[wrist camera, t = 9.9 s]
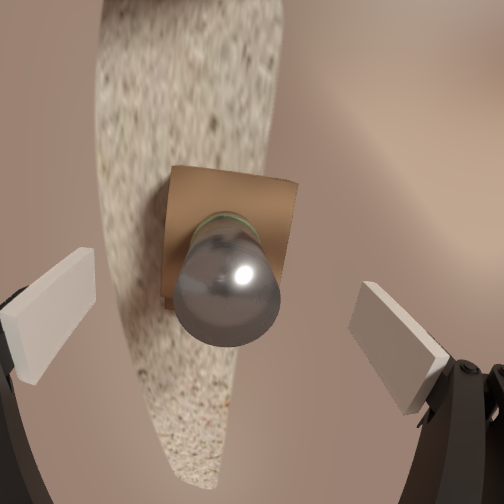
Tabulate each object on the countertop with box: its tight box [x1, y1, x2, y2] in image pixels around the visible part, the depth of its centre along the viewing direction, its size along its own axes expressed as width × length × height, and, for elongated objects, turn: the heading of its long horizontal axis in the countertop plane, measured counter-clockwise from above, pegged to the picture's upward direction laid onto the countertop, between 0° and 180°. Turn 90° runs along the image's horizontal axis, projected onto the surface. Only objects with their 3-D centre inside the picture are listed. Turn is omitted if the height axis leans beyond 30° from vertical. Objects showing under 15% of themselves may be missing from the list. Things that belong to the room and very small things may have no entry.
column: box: [173, 211, 280, 347], centre depth 19 cm, size 5×5×11 cm
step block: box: [161, 165, 298, 310], centre depth 27 cm, size 14×10×5 cm
